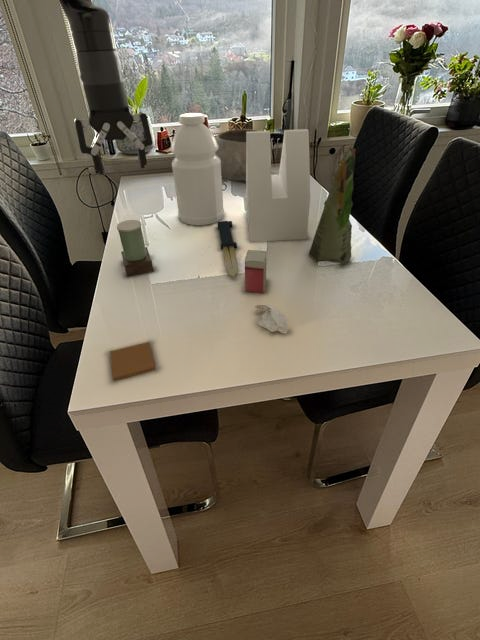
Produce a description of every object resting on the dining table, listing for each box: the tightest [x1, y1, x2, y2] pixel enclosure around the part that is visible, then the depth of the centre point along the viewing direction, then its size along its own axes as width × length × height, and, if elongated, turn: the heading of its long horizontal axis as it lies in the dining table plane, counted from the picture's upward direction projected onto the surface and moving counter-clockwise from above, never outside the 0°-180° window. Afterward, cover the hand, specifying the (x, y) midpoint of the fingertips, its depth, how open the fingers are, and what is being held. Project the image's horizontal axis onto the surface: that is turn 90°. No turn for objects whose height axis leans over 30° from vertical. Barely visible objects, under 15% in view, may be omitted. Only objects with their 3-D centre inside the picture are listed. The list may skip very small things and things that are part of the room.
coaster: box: [109, 341, 156, 381], centre depth 66 cm, size 7×7×1 cm
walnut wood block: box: [120, 246, 155, 277], centre depth 91 cm, size 6×8×3 cm
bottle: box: [170, 112, 225, 226], centre depth 107 cm, size 14×14×28 cm
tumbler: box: [115, 219, 147, 261], centre depth 88 cm, size 6×6×8 cm
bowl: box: [215, 128, 274, 182], centre depth 141 cm, size 23×23×15 cm
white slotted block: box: [245, 128, 311, 242], centre depth 101 cm, size 19×15×25 cm
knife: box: [216, 220, 239, 279], centre depth 97 cm, size 4×2×30 cm
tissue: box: [254, 304, 289, 334], centre depth 72 cm, size 6×8×4 cm
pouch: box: [308, 146, 357, 266], centre depth 85 cm, size 11×12×25 cm
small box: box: [244, 249, 268, 294], centre depth 81 cm, size 5×4×8 cm
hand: (122, 170), depth 79 cm, fingers open, 8 cm apart
